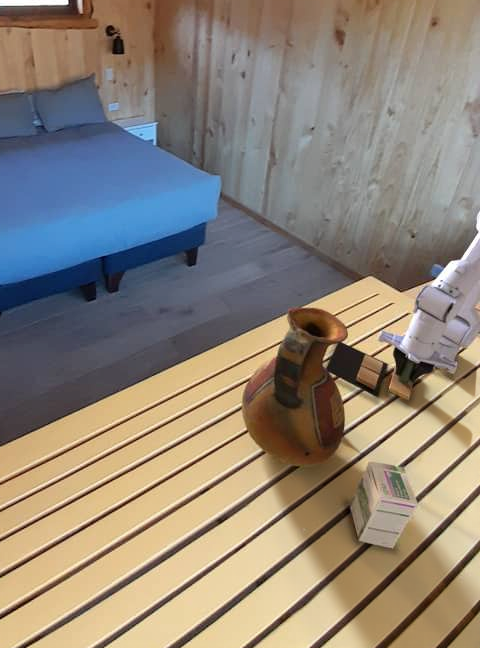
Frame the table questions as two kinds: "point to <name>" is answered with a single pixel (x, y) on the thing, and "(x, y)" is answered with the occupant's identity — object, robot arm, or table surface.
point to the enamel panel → (352, 367)
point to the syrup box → (382, 504)
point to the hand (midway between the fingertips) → (404, 375)
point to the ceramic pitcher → (298, 393)
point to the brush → (403, 379)
